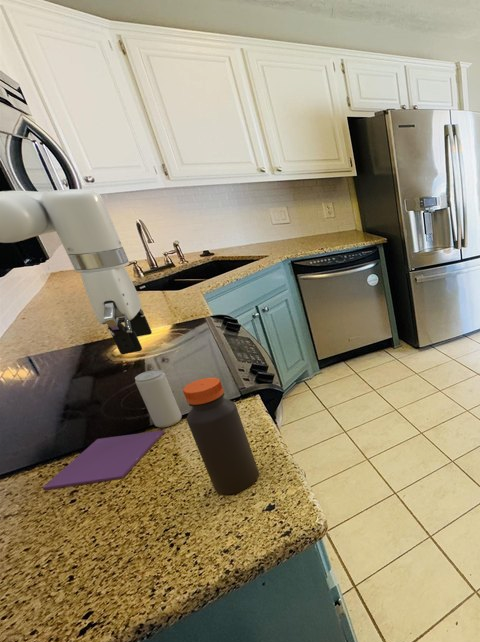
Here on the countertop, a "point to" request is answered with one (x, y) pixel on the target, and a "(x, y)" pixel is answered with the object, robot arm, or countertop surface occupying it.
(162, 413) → the beverage can
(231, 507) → the countertop surface
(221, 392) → the bottle
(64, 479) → the cloth
